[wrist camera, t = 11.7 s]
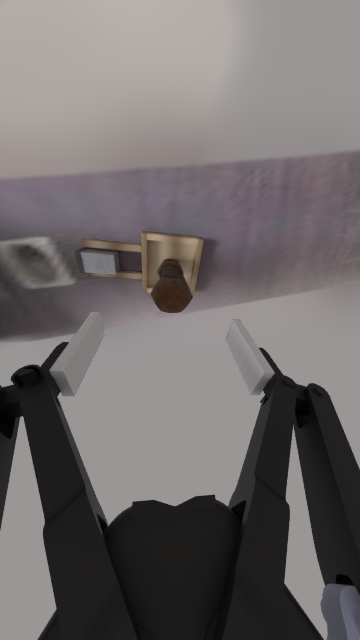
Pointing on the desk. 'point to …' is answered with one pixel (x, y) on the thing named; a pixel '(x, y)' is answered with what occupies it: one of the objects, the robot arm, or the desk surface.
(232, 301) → the desk surface
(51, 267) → the desk surface
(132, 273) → the socket
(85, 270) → the grey rectangular block
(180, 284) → the bolt
